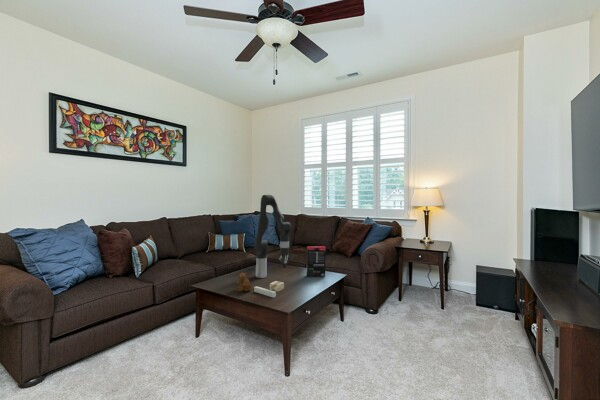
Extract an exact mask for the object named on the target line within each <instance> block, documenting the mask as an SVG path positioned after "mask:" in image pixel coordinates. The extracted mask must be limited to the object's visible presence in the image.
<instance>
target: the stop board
mask: <svg viewBox="0 0 600 400" xmlns="http://www.w3.org/2000/svg"><path fill="white" fill-rule="evenodd" d="M253 290H254V292H255V293H258V294H260V295H263V296H267V297H270V298H275V297H277V291H273V290H270V289H268V288H264V287H260V286H256V285H255V286H254V287H253Z"/></svg>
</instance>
